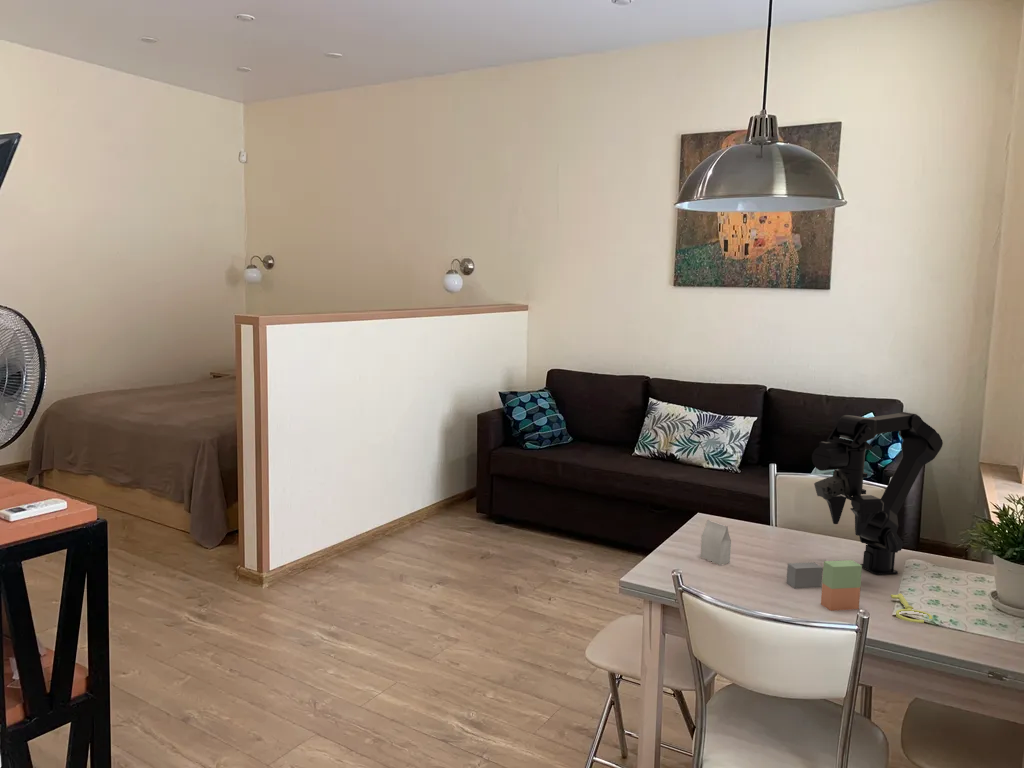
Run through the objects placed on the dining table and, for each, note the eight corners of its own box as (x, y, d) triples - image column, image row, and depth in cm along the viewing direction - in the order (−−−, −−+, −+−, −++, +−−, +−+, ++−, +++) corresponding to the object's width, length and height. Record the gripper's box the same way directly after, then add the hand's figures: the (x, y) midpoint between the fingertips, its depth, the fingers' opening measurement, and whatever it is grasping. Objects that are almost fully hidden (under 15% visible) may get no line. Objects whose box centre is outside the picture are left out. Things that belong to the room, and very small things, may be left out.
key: (900, 601, 177) (900, 592, 176) (936, 624, 165) (937, 615, 164) (871, 602, 176) (872, 593, 175) (906, 626, 164) (907, 616, 163)
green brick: (850, 581, 174) (852, 560, 173) (860, 587, 170) (862, 565, 170) (822, 582, 172) (823, 561, 172) (831, 588, 169) (833, 567, 168)
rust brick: (848, 602, 174) (850, 581, 174) (858, 609, 171) (860, 587, 170) (820, 604, 173) (822, 582, 172) (830, 610, 169) (831, 589, 169)
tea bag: (719, 565, 197) (721, 527, 195) (700, 557, 202) (702, 520, 201) (729, 563, 199) (731, 525, 197) (710, 555, 204) (712, 518, 203)
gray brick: (812, 582, 187) (814, 562, 186) (821, 587, 183) (822, 567, 183) (786, 583, 186) (787, 563, 185) (794, 588, 182) (795, 568, 181)
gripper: (800, 459, 195) (796, 519, 197) (844, 477, 177) (839, 542, 179) (839, 459, 197) (835, 518, 199) (887, 476, 179) (882, 541, 181)
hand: (846, 529), depth 189 cm, fingers open, 9 cm apart
